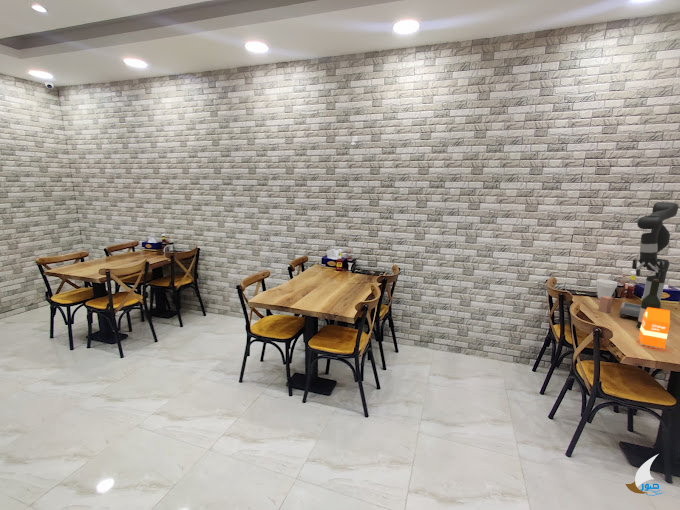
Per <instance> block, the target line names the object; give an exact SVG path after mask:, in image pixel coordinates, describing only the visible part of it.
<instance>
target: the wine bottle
mask: <svg viewBox="0 0 680 510" xmlns="http://www.w3.org/2000/svg"><path fill="white" fill-rule="evenodd" d="M659 283H660V281H659V280H658V279H653V280H652V283H651V288H650V292H649V295H647V296H646V297H645V298H644V299H642V298H641V304H640V305H641V308H640V313H639V317H637V318H638V319H637V323H636V328H637V327H638V328H637V329H639V328H641V324H642V319H643V315H644V313H645V311H646V309H647V307H650V308H656V309H661V305H662V303H661V301H659V299H658V297H657V292H658V288H659Z"/></svg>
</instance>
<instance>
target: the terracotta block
mask: <svg viewBox="0 0 680 510" xmlns="http://www.w3.org/2000/svg"><path fill="white" fill-rule="evenodd" d="M613 302H614V297H612V296H611V297H608V296H601V299H599V305H598V312H601V313H604V314H609V313H608V312H610V313H611V312H612V305H613Z"/></svg>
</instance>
